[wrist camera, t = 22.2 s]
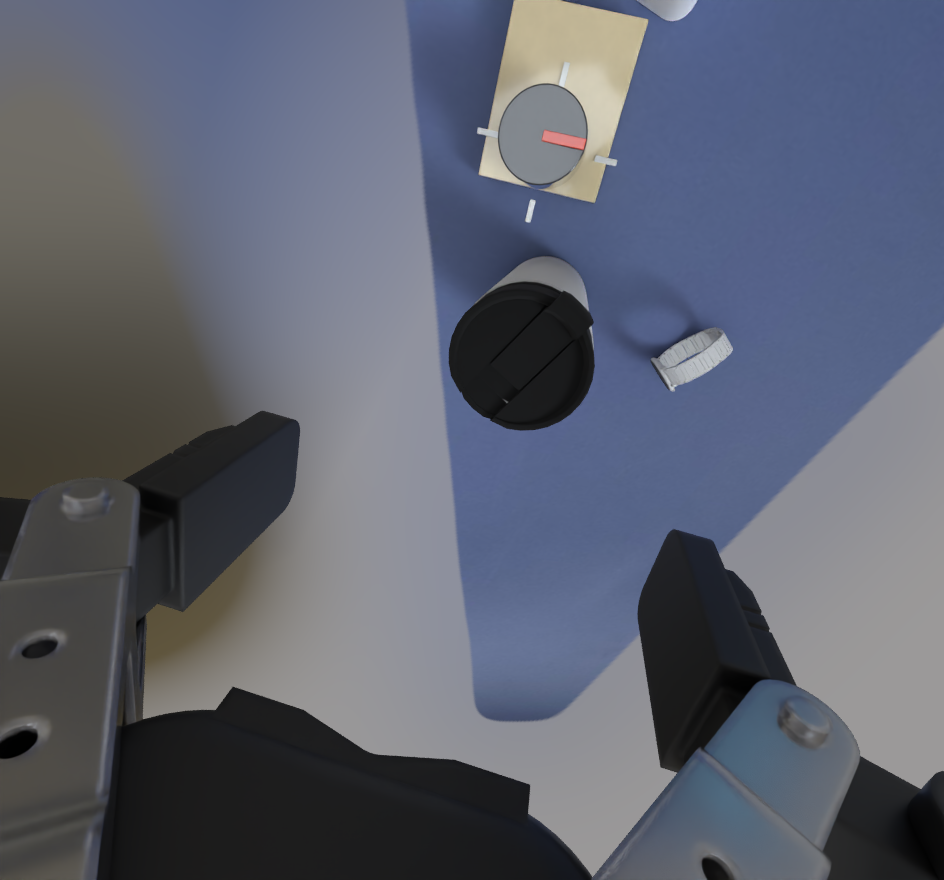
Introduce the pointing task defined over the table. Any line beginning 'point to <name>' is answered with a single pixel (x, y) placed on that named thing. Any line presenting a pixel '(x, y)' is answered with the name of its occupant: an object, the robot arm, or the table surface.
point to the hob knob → (543, 136)
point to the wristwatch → (711, 356)
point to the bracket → (669, 8)
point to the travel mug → (526, 347)
